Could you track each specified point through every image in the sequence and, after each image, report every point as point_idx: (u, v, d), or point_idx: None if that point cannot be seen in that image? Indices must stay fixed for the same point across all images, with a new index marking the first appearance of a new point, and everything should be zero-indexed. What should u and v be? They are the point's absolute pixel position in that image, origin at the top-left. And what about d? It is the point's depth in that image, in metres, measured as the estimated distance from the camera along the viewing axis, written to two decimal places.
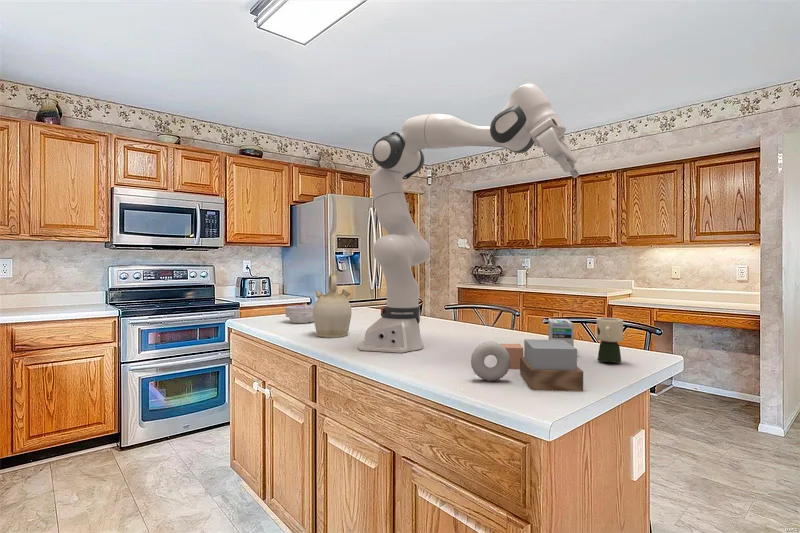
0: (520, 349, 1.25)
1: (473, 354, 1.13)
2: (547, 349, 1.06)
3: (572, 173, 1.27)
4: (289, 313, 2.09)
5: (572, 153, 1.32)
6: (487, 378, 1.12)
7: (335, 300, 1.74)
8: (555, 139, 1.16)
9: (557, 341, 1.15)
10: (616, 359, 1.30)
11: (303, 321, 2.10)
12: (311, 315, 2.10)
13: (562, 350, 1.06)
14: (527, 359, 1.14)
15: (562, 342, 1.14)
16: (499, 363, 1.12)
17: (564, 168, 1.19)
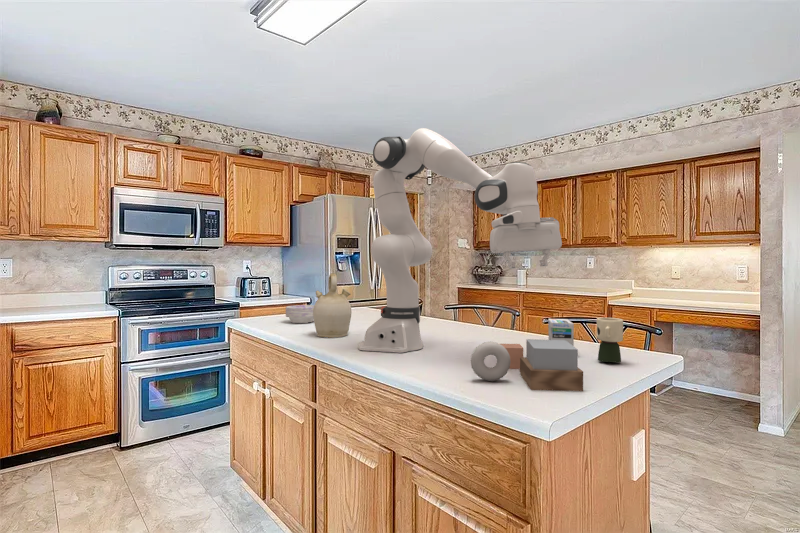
0: (520, 349, 1.25)
1: (473, 354, 1.13)
2: (547, 349, 1.06)
3: (540, 262, 1.27)
4: (289, 313, 2.09)
5: (558, 237, 1.26)
6: (487, 378, 1.12)
7: (335, 300, 1.74)
8: (494, 241, 1.24)
9: (559, 341, 1.15)
10: (616, 359, 1.30)
11: (303, 321, 2.10)
12: (311, 315, 2.10)
13: (562, 350, 1.06)
14: (528, 359, 1.14)
15: (564, 342, 1.14)
16: (499, 363, 1.12)
17: (508, 265, 1.26)
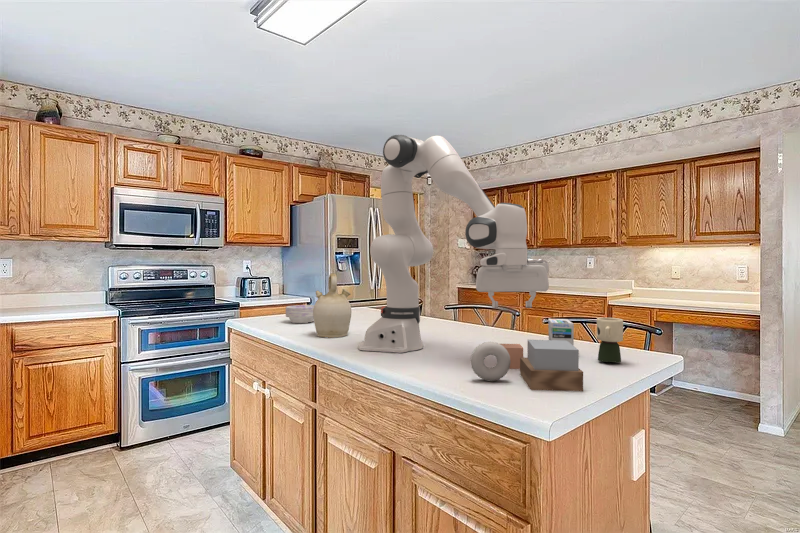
0: (520, 349, 1.25)
1: (473, 354, 1.13)
2: (548, 349, 1.06)
3: None
4: (289, 313, 2.09)
5: (545, 281, 1.26)
6: (487, 378, 1.12)
7: (335, 300, 1.74)
8: (477, 281, 1.27)
9: (560, 342, 1.15)
10: (616, 359, 1.30)
11: (303, 321, 2.10)
12: (311, 315, 2.10)
13: (563, 351, 1.06)
14: (529, 359, 1.14)
15: (565, 343, 1.14)
16: (499, 363, 1.12)
17: (492, 304, 1.29)
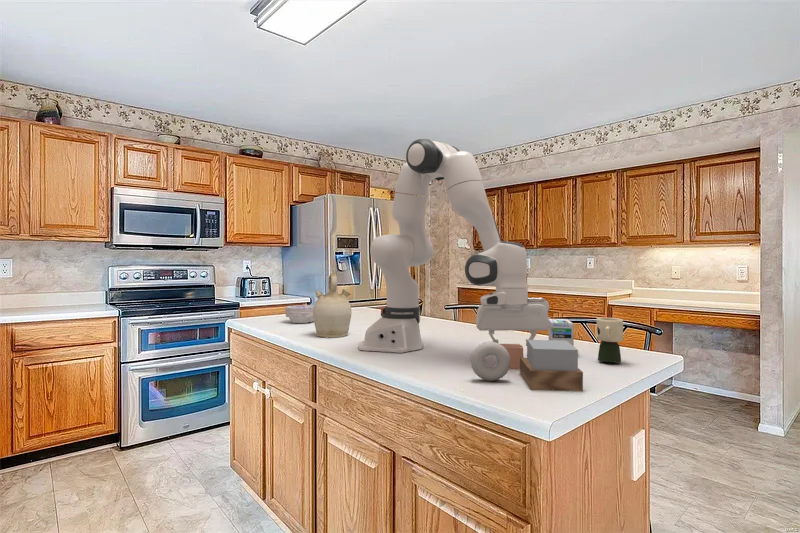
0: (520, 349, 1.25)
1: (473, 354, 1.13)
2: (547, 350, 1.06)
3: (526, 341, 1.28)
4: (289, 313, 2.09)
5: (545, 320, 1.26)
6: (487, 378, 1.12)
7: (335, 300, 1.74)
8: (477, 320, 1.27)
9: (560, 342, 1.15)
10: (616, 359, 1.30)
11: (303, 321, 2.10)
12: (311, 315, 2.10)
13: (563, 351, 1.06)
14: (529, 359, 1.14)
15: (564, 343, 1.14)
16: (499, 363, 1.12)
17: None
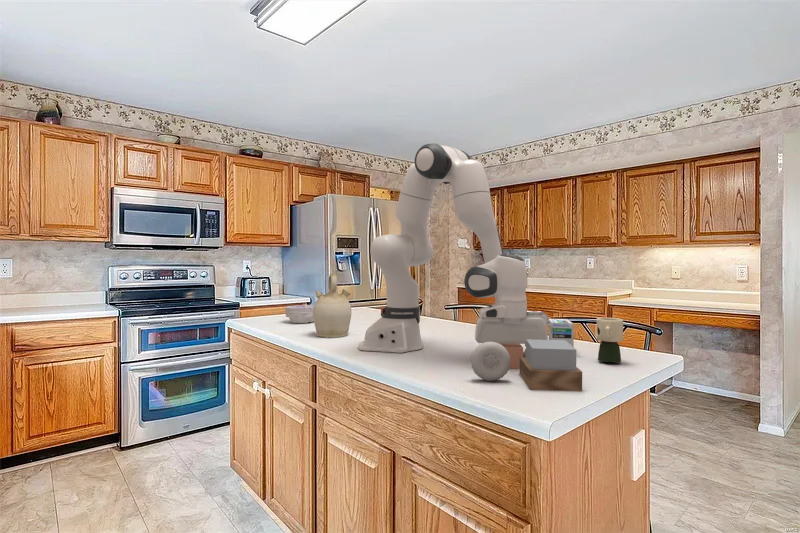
0: (520, 349, 1.25)
1: (473, 354, 1.13)
2: (546, 349, 1.06)
3: None
4: (289, 313, 2.09)
5: (544, 333, 1.26)
6: (487, 378, 1.12)
7: (335, 300, 1.74)
8: (476, 332, 1.28)
9: (558, 341, 1.15)
10: (616, 359, 1.30)
11: (303, 321, 2.10)
12: (311, 315, 2.10)
13: (561, 350, 1.06)
14: (528, 359, 1.14)
15: (563, 342, 1.14)
16: (499, 363, 1.12)
17: None
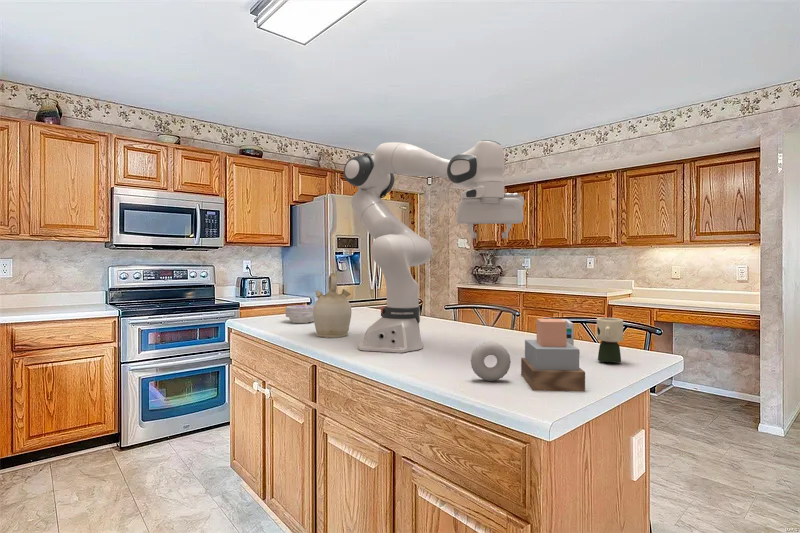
0: (563, 323, 1.09)
1: (473, 354, 1.13)
2: (550, 349, 1.06)
3: (502, 234, 1.38)
4: (289, 313, 2.09)
5: (520, 212, 1.36)
6: (487, 378, 1.12)
7: (335, 300, 1.74)
8: (457, 213, 1.37)
9: None
10: (616, 359, 1.30)
11: (303, 321, 2.10)
12: (311, 315, 2.10)
13: (564, 350, 1.06)
14: (528, 359, 1.14)
15: None
16: (499, 363, 1.12)
17: None
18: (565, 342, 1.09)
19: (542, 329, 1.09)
